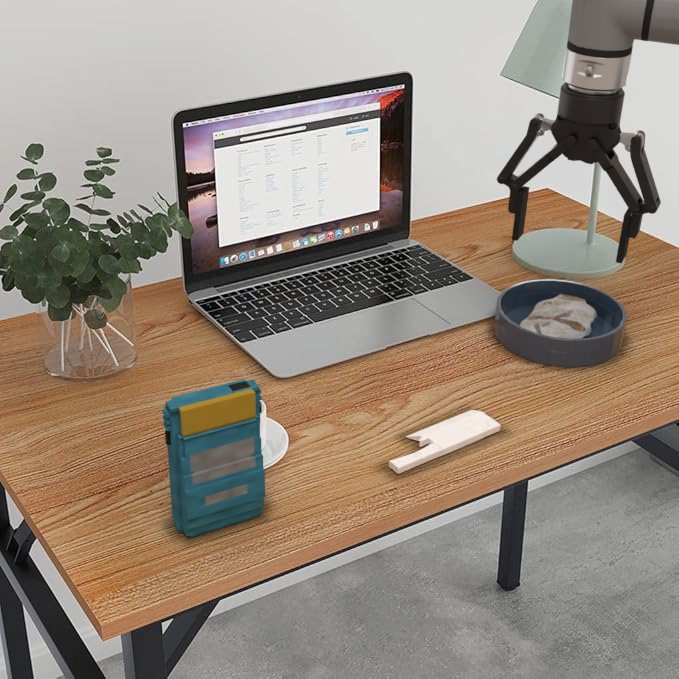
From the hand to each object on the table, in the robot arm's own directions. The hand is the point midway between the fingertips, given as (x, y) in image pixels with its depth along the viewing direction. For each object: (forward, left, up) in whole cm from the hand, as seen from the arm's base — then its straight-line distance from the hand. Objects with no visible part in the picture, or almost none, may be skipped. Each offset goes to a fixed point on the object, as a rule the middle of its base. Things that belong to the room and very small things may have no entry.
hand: (568, 247), depth 137 cm
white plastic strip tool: (+5, +31, -13) cm, 34 cm away
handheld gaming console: (+20, +54, -13) cm, 59 cm away
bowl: (0, 0, -13) cm, 13 cm away
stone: (0, 0, -13) cm, 13 cm away
